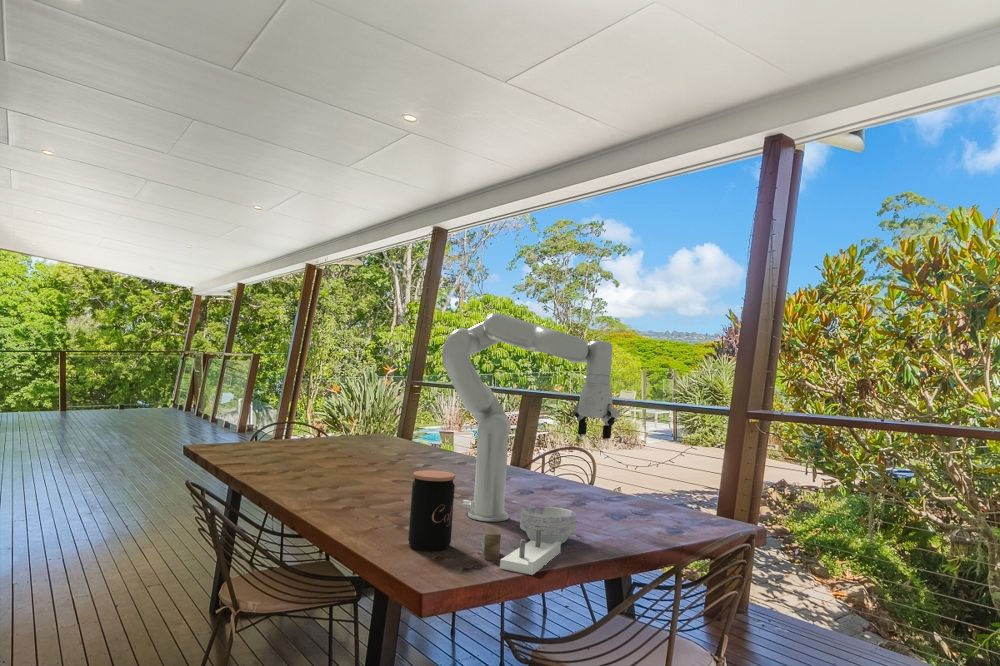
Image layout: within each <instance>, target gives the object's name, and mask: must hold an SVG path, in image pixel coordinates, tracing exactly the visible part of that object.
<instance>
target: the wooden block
mask: <svg viewBox="0 0 1000 666" xmlns="http://www.w3.org/2000/svg"><path fill="white" fill-rule="evenodd" d="M482 530H483V531H482V542H481V545H482V546H481V552H482V556H483V559H484V561H485V560H486V561H488V560H489V561H500V553H501V540H502V539H501V538H502V537H501V533H500V530H499V528H498V527H495V526H493V527H492V526H491V527H490V526H483V529H482Z"/></svg>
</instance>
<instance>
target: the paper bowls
mask: <svg viewBox="0 0 1000 666" xmlns="http://www.w3.org/2000/svg"><path fill="white" fill-rule="evenodd" d="M519 518H520V520H519V521H520V522H519V528H520V530H523V532H526V536H527V538H528V539H529V541H531V540H532V541H536V530H541V542H543V543H549V544H554V543H555V542H561V545H562V544H564V543H566V541H567V540H568V538H569V536H570V535H573V534H575V533H576V531H577V513H576V512H574V511H573V510H571V509H566V508H562V507H557V506H556V507H554V506H543V505H542V506H527V507H524V508H522V509H521V510H520V517H519Z"/></svg>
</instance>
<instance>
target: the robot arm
mask: <svg viewBox="0 0 1000 666" xmlns="http://www.w3.org/2000/svg"><path fill="white" fill-rule="evenodd" d="M500 342H501V343H502V344H503V343H504V344H507V345H510V346H514V347H516V348H519V349H523V350H526V351H529V352H536V353H543V354H547V355H550V356H555V357H558V358H561V359H564V360H567V361H568V362H570V363H575V364H576V363H577V364H578V363H579V364H580V363H586V371H585V372H586V373H585V376H584V377H583V381H585V383H584V384H582V386H581V390H580V394H579V401H578V402H579V403H578V404H575V405H574V406H573V412H574V415H575V417H576V420H577V422H578V425H577V426H578V430H577V435H581V436H584V435H586V434H587V426H588V425H587V424H588V421H586V420H588V418H594V419H602V422H603V423H604V425H602V436H601V437H602V439H603V440H611V437H612V427H613V426H614V424H615V423H616V422H617V421H618V417H619V415H620V411H619V410H617V409H616V408H615V407H614V406H613V392H612V391H613V390H612V389H613V388H612V386H611V377H612V376H611V375H612V360H613V344H612V343H611V342H610V341H606V340H591V341H587V340H584V339H583V338H581V337H579V336H577V335H576V336H575V335H573V334H569V333H565V332H562V331H559V330H555V329H552V328H548V327H545V326H542V325H539V324H537V323H533V322H530V321H529V322H528V321H527V320H526V321H525V320H523V319H519V318H518V317H517V318H516V317H513V316H510V315H506V314H503V313H499V312H492V313H490V314H488V315H487V316H486V317H485V318H484V320H483V321H482V322H480V323H477V324H476V325H474V326H472V327H470V328H469V327H468V328H464V327H463V328H461V327H460V328H457V329H454V330H453V331H452V332H450V334H449V335H448V336H447V337H446V340H445V341H444V344H443V346H442V351H441V359H442V365H443V367H444V369H445V372H446V374H447V376H448V378H449V380H450V382H451V384H452V386H453V388H454V390H455V391H456V393H457V395H458V398H459V399H460V401H461V402H462V404H463V407H464V409H465V410H466V411H467V412H469V413H471V414H472V416H473V418H474V420H475V421H476V423H477V424H478V427H477V433H476V434H477V435H476V457H475V458H476V461H475V479H474V490H473V491H474V493H473V500H470V499H469V500H468V499H463V500H462V507H463V508H469V510H468V512H467V516H468V518H470V519H471V520H477V521H480V522H481V521H482V522H489V523H490V522H493V523H494V522H495V523H496V522H504V521H507V520H508V519H509V518H510V516H509V513H508V512H506V511H505V502H506V500H505V499H506V485H507V484H506V482H507V468H508V467H507V466H508V450H509V449H508V448H509V436H510V435H509V434H511V421H510V420H509V418H508V416H507V414H506V412H505V411H504V409H503V407H502V406H501V403H500V402H499V400H498V398H497V397H496V395H495V393H494V391H493V390H492V389H491V387H489V386H488V385H487V384H484V382H483V381H482V378H480V375H479V374H478V372H477V369H476V368H475V366H474V365H473V363H472V360H471V359H470V356H474V355H476V354H478V353H479V352H482V351H484V350H486V349H488V348H490V347H492V346H495V345H496V344H498V343H500Z"/></svg>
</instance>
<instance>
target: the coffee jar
mask: <svg viewBox="0 0 1000 666" xmlns="http://www.w3.org/2000/svg"><path fill="white" fill-rule="evenodd" d="M412 475H413V478H414V480H413V482H412V483H411V495H410V496H411V498H410V499H411V500H410V512H409V523H408V526H409V527H408V539H407V541H408V543H409V545H410V547H411V548H412V549H414V550H417V551H421V552H441V551H444V550H446V549H448V547H449V546H450V544H451V542H452V531H453V530H452V529H453V527H452V526H453V516H454V515H453V513H454V503H455V502H454V499H455V498H454V497H455V489H456V487H455V484H454V480H455V479H456V474H455V473H453V472H449V471H443V470H431V469H429V470H417V471H414V472H413V473H412Z"/></svg>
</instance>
